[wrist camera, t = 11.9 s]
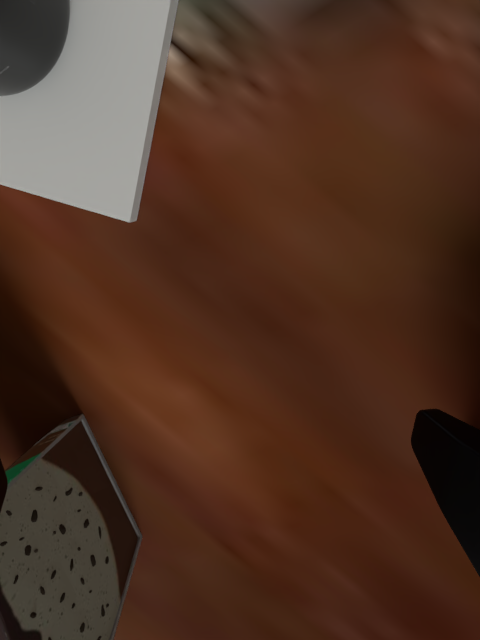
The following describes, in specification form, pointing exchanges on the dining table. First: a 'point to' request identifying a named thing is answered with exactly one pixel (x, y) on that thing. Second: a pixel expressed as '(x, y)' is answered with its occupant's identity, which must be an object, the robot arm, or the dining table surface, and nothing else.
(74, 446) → the food container
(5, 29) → the supplement bottle
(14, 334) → the dining table surface
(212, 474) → the dining table surface
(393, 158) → the dining table surface
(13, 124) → the pad
